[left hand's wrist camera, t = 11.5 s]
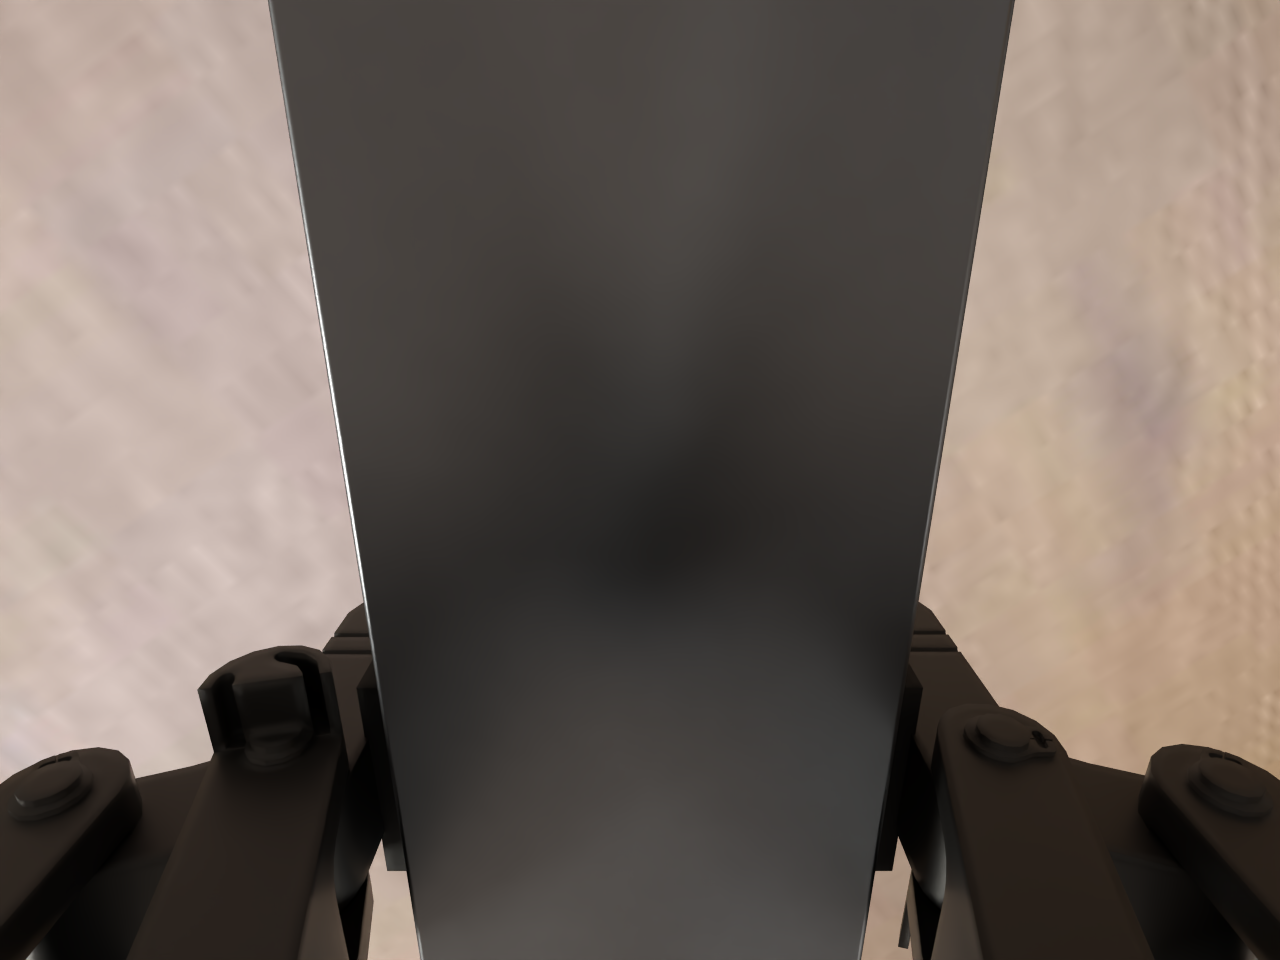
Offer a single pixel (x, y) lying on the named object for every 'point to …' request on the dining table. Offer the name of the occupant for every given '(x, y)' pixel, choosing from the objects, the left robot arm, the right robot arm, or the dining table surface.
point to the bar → (641, 438)
